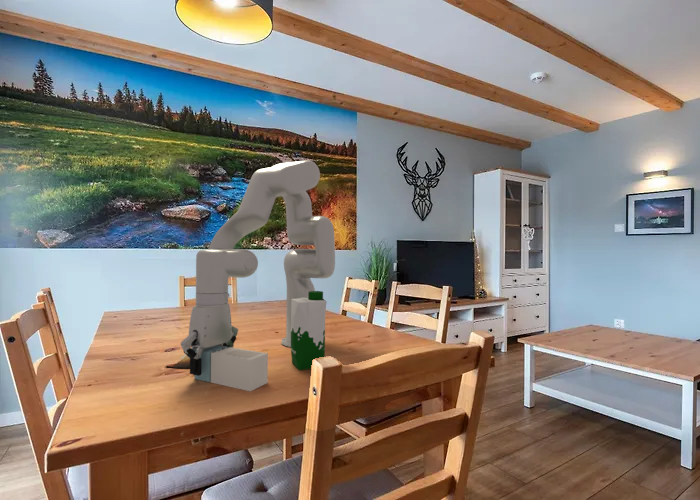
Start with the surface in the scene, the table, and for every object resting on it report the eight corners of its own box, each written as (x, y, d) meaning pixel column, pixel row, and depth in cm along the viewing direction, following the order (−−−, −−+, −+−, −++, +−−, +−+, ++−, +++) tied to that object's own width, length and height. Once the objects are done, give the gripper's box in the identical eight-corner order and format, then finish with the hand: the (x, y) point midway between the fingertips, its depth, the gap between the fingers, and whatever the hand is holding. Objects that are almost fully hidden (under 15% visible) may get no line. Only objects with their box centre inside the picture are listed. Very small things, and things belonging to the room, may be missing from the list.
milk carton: (328, 367, 101) (329, 293, 101) (295, 372, 97) (296, 294, 97) (318, 358, 109) (318, 289, 109) (287, 362, 105) (288, 291, 105)
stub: (213, 371, 97) (213, 344, 97) (228, 374, 95) (228, 346, 95) (194, 378, 91) (194, 349, 91) (209, 382, 89) (209, 352, 89)
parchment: (200, 345, 124) (200, 342, 124) (230, 344, 124) (230, 342, 124) (162, 370, 99) (162, 367, 99) (200, 370, 99) (200, 367, 99)
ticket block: (229, 374, 94) (229, 346, 94) (267, 382, 89) (267, 352, 89) (210, 382, 89) (210, 352, 89) (250, 391, 84) (250, 359, 84)
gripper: (226, 294, 102) (225, 357, 102) (171, 302, 87) (170, 376, 87) (247, 296, 99) (247, 361, 99) (194, 305, 84) (193, 382, 84)
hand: (211, 368), depth 93 cm, fingers open, 9 cm apart
